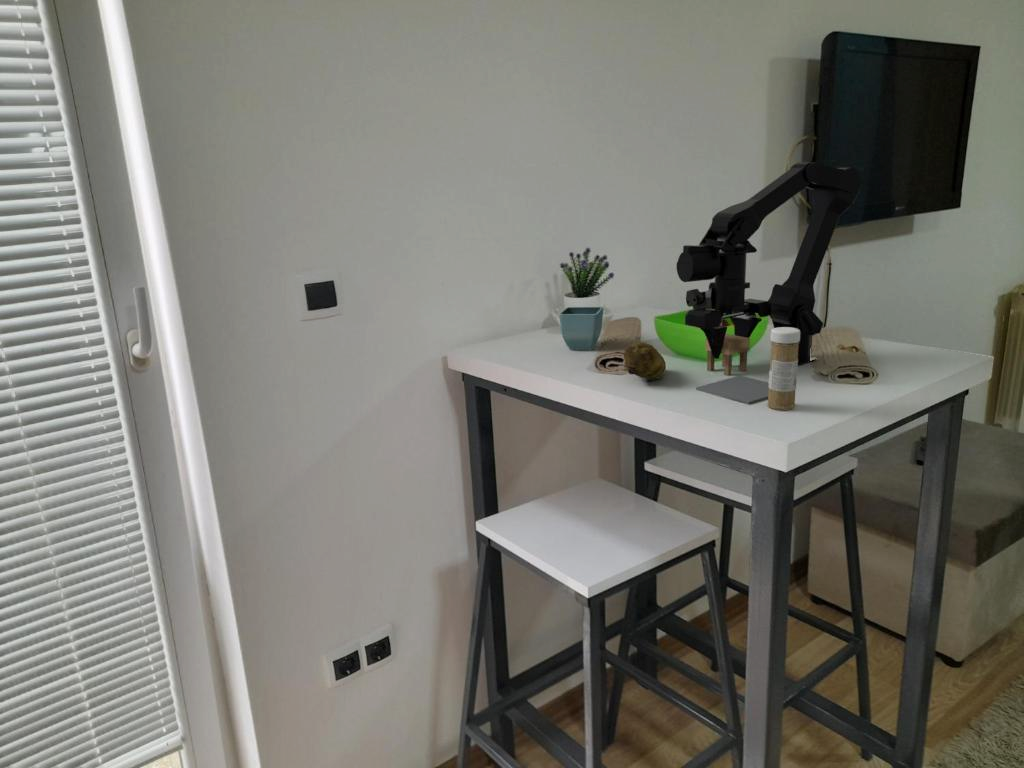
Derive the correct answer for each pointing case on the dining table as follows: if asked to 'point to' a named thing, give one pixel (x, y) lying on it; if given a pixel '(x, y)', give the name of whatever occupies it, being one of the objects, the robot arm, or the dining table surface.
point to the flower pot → (581, 326)
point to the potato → (644, 361)
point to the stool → (730, 353)
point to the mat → (739, 389)
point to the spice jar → (783, 368)
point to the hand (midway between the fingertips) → (727, 355)
